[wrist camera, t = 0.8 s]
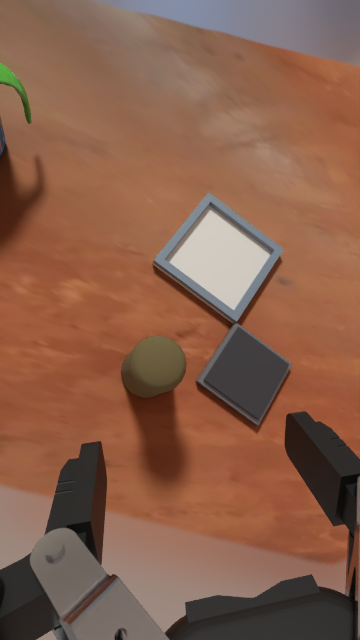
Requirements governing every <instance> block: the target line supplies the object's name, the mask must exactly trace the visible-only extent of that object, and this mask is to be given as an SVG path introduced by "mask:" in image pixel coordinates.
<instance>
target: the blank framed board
mask: <svg viewBox="0 0 360 640" xmlns="http://www.w3.org/2000/svg"><path fill="white" fill-rule="evenodd" d="M283 250H284V249H283V248H282V247H280V246H279V245H278V244H276V243H275V242H274V241H272V240H271V239H270V238H268V237H267V236H266V235H264V234H263V233H262V232H260V231H259V230H258V229H257V228H255V227H254V226H253V225H251V224H250V223H249V222H247V221H246V220H245V219H243V218H242V217H241V216H239V215H238V214H237V213H235V212H234V211H233V210H231V209H230V208H229V207H227V206H226V205H225V204H223V203H222V202H221V201H219V200H218V199H217V198H215V197H214V196H213V195H212V194H210V193H208V194H207V195H206V196H205V198H204V199H203V200H202V201H201V202H200V204H199V205H198V206H197V207H196V209H195V210H194V211H193V212H192V214H191V215H190V216H189V217H188V218H187V220H186V221H185V222H184V223H183V225H182V226H181V227H180V228H179V229H178V231H177V232H176V233H175V234H174V236H173V237H172V238H171V239H170V241H169V242H168V243H167V244H166V245H165V247H164V248H163V249H162V250H161V252H160V253H159V254H158V255H157V257H156V258H155V259H154V260H153V265H154V266H156V267H157V268H158V269H160V270H161V271H162V272H164V273H165V274H166V275H168V276H169V277H170V278H172V279H173V280H174V281H176V282H177V283H179V284H180V285H181V286H183V287H184V288H185V289H187V290H188V291H189V292H191V293H192V294H193V295H195V296H196V297H197V298H199V299H200V300H201V301H203V302H204V303H206V304H207V305H208V306H210V307H211V308H212V309H214V310H215V311H216V312H218V313H219V314H220V315H222V316H223V317H224V318H226V319H227V320H228V321H230V322H231V323H232V324H234V323H236V322H237V321H238V319H239V318H240V316H241V315H242V313H243V312H244V310H245V308H246V307H247V305H248V304H249V302H250V301H251V299H252V298H253V296H254V295H255V293H256V291H257V290H258V288H259V287H260V285H261V284H262V282H263V281H264V279H265V278H266V276H267V274H268V273H269V271H270V270H271V268H272V267H273V265H274V264H275V262H276V261H277V259H278V257H279V256H280V254H281V253H282V251H283Z"/></svg>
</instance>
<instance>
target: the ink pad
mask: <svg viewBox="0 0 360 640" xmlns="http://www.w3.org/2000/svg"><path fill="white" fill-rule="evenodd" d="M291 365H292V363H290V362H289V361H288V360H286V359H285V358H284V357H282V356H281V355H279V354H278V353H277V352H275V351H274V350H273V349H271V348H270V347H269V346H267V345H266V344H265V343H263V342H262V341H261V340H259V339H258V338H257V337H255V336H254V335H253V334H251V333H250V332H248V331H247V330H246V329H244V328H243V327H242V326H240V325H239V324H238V323H234V324H233V325H232V326H231V328H230V330H229V331H228V333H227V334H226V336H225V337H224V339H223V340H222V342H221V343H220V345H219V346H218V348H217V349H216V351H215V353H214V354H213V356H212V357H211V359H210V360H209V362H208V363H207V365H206V366H205V368H204V369H203V371H202V373H201V374H200V376H199V377H198V379H197V380H196V382H197V383H198V384H200V385H201V386H202V387H204V388H205V389H207V390H208V391H209V392H211V393H212V394H213V395H215V396H216V397H218V398H219V399H220V400H222V401H223V402H224V403H226V404H227V405H229V406H230V407H231V408H233V409H234V410H235V411H237V412H238V413H239V414H241V415H242V416H244V417H245V418H246V419H248V420H249V421H250V422H252V423H253V424H255V425H259V423H260V422H261V420H262V418H263V416H264V414H265V412H266V411H267V409H268V407H269V405H270V403H271V402H272V400H273V398H274V396H275V394H276V392H277V391H278V389H279V387H280V385H281V383H282V382H283V380H284V378H285V376H286V374H287V372H288V371H289V369H290V367H291Z"/></svg>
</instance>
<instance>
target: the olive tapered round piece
mask: <svg viewBox="0 0 360 640" xmlns="http://www.w3.org/2000/svg"><path fill="white" fill-rule="evenodd" d="M185 372H186V358H185V354H184V352H183V350H182V349H181V347H180V346H179V345H178V344H177V343H176V342H175V341H174V340H172V339H170V338H168V337H164V336H151V337H148V338H146V339H144V340H142V341H140V342H139V343H138V344H137V345H136V346H135V348H134V349H133V351H132V352H131V353H130V354H129V355H128V356H127V357H126V358H125V360H124V362H123V364H122V369H121V376H122V381H123V383H124V385H125V387H126V388H127V389H128V390H129V391H130V392H131V393H132V394H134V395H136V396H138V397H142V398H150V397H155V396H157V395H159V394H160V393H165V392H168V391H170V390H172V389H174V388H175V387H176V386H177V385H178V384H179V383H180V382H181V381H182V379H183V377H184V374H185Z"/></svg>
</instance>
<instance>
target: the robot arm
mask: <svg viewBox="0 0 360 640" xmlns="http://www.w3.org/2000/svg"><path fill="white" fill-rule="evenodd" d="M285 449H286V452H287V455H288V457H289V459H290V460H291V462H292V463H293V465H294V466H295V468H296V469H297V471H298V472H299V474H300V475H301V477H302V478H303V480H304V481H305V483H306V485H307V486H308V488H309V489H310V491H311V492H312V494H313V495H314V497H315V498H316V500H317V501H318V503H319V504H320V506H321V508H322V509H323V511H324V512H325V514H326V515H327V517H328V518H329V520H330V521H331V523H332V524H333V526H338V525H342V524H345V525H346V526H347V528H348V529H349V532H348V543H347V565H346V586H345V595H344V594H342V593H340V592H338V591H335V590H332V589H329V588H325V587H318V586H317V584H316V582H315V580H314V578H313V576H312V575H307V576H303V577H298V578H294V579H289V580H285V581H281V582H280V583H278V584H277V585H275V586H273V587H271V588H270V589H268V590H266V591H265V592H263V593H262V594H260V595H258V596H257V597H255V598H242V597H232V596H220V595H217V596H212V597H208V598H203V599H199V600H194V601H190V602H186V603H185V605H186V615H185V616H184V617H182V618H180V619H179V620H178V621H177V622H175V623H174V624H173V625H172V626H171V627H170V628H169V629H168V630H167V631H166V632H165V633H164V632H163V631H162V630H161V629H160V627H159V626H158V625H157V624H156V622H155V621H154V620H153V619H152V618H151V616H150V615H149V614H148V613H147V611H146V610H145V609H144V608H143V606H142V605H141V604H140V603H139V602H138V600H137V599H136V598H135V596H134V595H133V594H132V593H131V592H130V590H129V589H128V588H127V587H126V585H125V584H124V583H123V582H122V581H121V579H120V578H119V577H118V576H116V575H114V574H113V575H112V576H109V575H108V574H107V573H106V571H105V570H104V569H103V568H102V566H101V563H102V548H103V533H104V520H105V506H106V491H107V475H106V467H105V461H104V455H103V449H102V444H101V441H98V442H92V443H85V444H82V445H81V450H80V455H79V458H76V459H69V460H68V461H67V463H66V464H65V465H64V467H63V468H62V469H61V471H60V475H59V479H58V485H57V487H56V491H55V495H54V500H53V504H52V508H51V512H50V516H49V520H48V524H47V528H46V532H45V535H44V536H43V537H42V538H41V539H40V540H39V541H38V542H37V543H36V545H35V546H34V548H33V550H32V552H31V553H30V554H29V555H27V556H26V557H24V558H23V559H21V560H19V561H17V562H15V563H13V564H11V565H9V566H7V567H5V568H3V569H1V570H0V640H36V639H38V638H39V637H41V636H43V635H44V634H46V633H48V632H49V631H51V630H52V631H53V633H54V635H55V637H56V639H57V640H360V459H359V458H358V457H357V456H356V455H355V453H354V452H353V451H352V450H351V449H350V448H349V447H348V446H346V444H345V443H344V442H343V441H342V440H341V439H340V438H339V436H338V435H337V434H336V433H335V432H334V431H333V430H332V429H331V428H330V427H328V426H326V425H325V424H323V423H321V422H320V421H319V422H315V421H314V420H313V419H312V418H311V416H310V415H309V414H308V413H307V412H305V411H303V412H296V413H290V414H287V417H286V429H285Z"/></svg>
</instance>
